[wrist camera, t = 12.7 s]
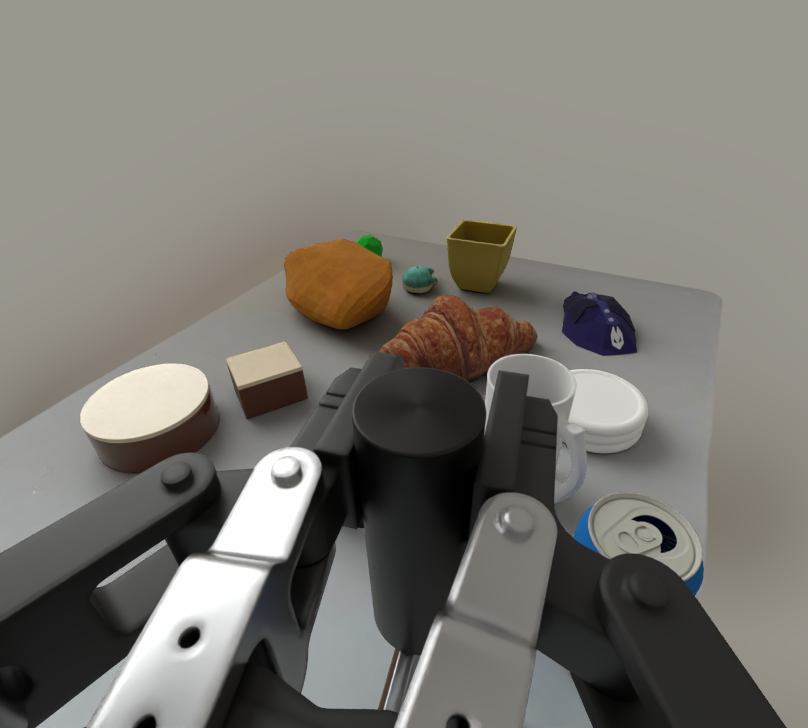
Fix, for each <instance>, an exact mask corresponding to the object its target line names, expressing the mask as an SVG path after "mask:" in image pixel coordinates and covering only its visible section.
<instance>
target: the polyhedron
mask: <svg viewBox="0 0 808 728" xmlns="http://www.w3.org/2000/svg"><path fill="white" fill-rule="evenodd" d="M356 243H357V244H359V245H361V246H362V247H364V248H366V249H368V250H369V251H371V252H373V253H375V254H377V255H379V256H381V255H382V250H383V247H382V244H381V242H380V241H379V240H378V239H377V238H375V237H374V236H372V235H364V236H362V237H361V238H360V239H359V240H357V242H356Z"/></svg>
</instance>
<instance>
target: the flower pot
mask: <svg viewBox="0 0 808 728" xmlns="http://www.w3.org/2000/svg"><path fill="white" fill-rule="evenodd" d="M516 229H517V227H516V226H512V225H506V224H498V223H489V222H481V221H472V220H462V221H461V222H460V223H459V225H458V226H457V227H456V228H455V229H454V230H453V231H452V232H451V233H450V234H449V235H448V237H447V249H448V261H449V269H450V273H451V275H452V278H453V280H454V282H455V283H456V285H457V286H458V287H459V288H460V289H465V290H471V291H476V292H482V293H490V292H491V291H492V290H493V288H494V287H495V285H496V283H497V281H498V280H499V278H500V276H501V275H502V273H503V271H504V269H505V267H506V265H507V263H508V260H509V258H510V254H511V250H512V246H513V242H514V237H515V233H516Z"/></svg>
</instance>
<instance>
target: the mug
mask: <svg viewBox="0 0 808 728" xmlns="http://www.w3.org/2000/svg"><path fill="white" fill-rule="evenodd" d="M499 370H501V371H508V372H515V373H521V374H528V375H529V381H528V389H527V396H531V397H537V398H543V399H549V400H550V402H551V404H552V406H553V408H554V409H555V411H556V413H557V415H558V424H557V447H556V464H557V460H558V456H559V452H560V449H561V445H562V441H563V440H564V441H565V443H566V445H567V447H568V449H569V452H570V455H571V461H572V467H571V472H570V475H569V477H568V478H567V480H566V481H565V482H564V483H562V482H560V481H558V480H557V479H556V478H555V493H554V503H559V502H561V501H563V500H565V499H566V498H568V497H569V496H570V495H572V494H573V493H574V492H575V491H577V490H578V489H579V488H580V486H581V485H582V483H583V481H584V478H585V475H586V469H587V456H586V447H585V440H584V433H585V429H583V428H582V427H580V426H579V425H577V424H576V423H574V422H571V423H569V422H568V419H569V415H570V412H571V408H572V404H573V400H574V395H575V392H576V388H577V384H576V380H575V377H574V376H573V374H572V373H571V372H570V371H569V370H568V369H567V368H566V367H565V366H564V365H562V364H560V363H559V362H557V361H555V360H552V359H550V358H547V357H544V356H539V355H534V354H514V355H509V356H505V357H502V358H500V359H498V360H497V361H495V362H494V363H493V364H492V365H491V366H490V368H489V370H488V373H487V387H486V399H485V407H486V423H485V430H486V426H487V421H488V416H489V412H490V407H491V403H492V398H493V393H494V389H495V384H496V380H497V375H498V371H499ZM484 435H485V433H484Z"/></svg>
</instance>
